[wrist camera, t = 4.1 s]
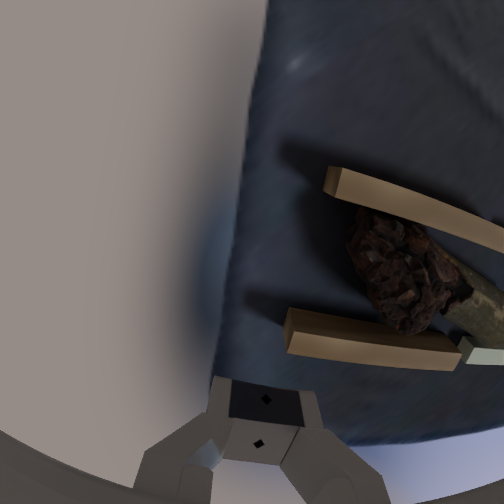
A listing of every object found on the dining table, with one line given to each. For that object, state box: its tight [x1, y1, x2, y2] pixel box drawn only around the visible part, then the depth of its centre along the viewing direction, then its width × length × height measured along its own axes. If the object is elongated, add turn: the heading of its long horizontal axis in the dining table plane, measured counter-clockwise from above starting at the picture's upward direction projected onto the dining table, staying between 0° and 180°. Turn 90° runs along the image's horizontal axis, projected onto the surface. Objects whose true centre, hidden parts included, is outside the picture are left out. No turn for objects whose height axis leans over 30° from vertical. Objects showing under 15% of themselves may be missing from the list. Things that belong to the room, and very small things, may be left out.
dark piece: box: [345, 206, 504, 348], centre depth 23 cm, size 21×8×7 cm, turn 63°
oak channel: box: [283, 166, 504, 371], centre depth 24 cm, size 14×17×4 cm
